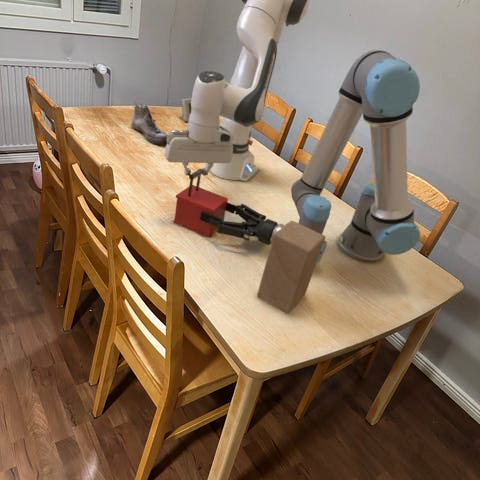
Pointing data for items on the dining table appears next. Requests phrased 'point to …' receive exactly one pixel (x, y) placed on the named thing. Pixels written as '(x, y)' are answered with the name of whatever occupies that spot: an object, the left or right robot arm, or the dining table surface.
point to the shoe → (147, 125)
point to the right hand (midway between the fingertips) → (209, 208)
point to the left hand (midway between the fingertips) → (196, 174)
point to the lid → (201, 195)
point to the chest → (196, 217)
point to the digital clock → (186, 108)
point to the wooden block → (290, 265)
